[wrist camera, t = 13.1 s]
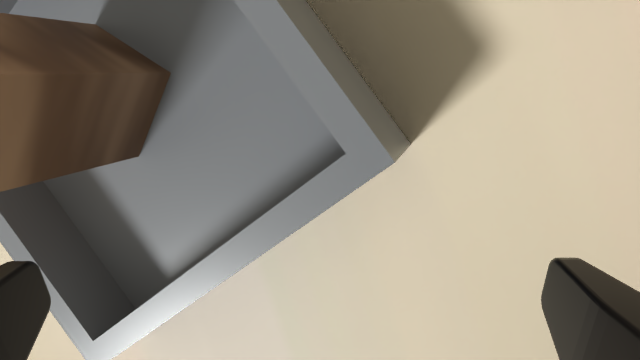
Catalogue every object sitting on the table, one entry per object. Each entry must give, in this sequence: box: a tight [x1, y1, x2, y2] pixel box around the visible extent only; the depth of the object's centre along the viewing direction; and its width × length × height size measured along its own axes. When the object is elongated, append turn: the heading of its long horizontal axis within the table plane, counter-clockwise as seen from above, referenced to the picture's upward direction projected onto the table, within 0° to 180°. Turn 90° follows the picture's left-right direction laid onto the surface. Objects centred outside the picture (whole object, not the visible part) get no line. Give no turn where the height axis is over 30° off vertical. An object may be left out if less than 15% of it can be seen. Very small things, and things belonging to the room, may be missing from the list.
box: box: [0, 0, 411, 360], centre depth 20 cm, size 18×18×4 cm
